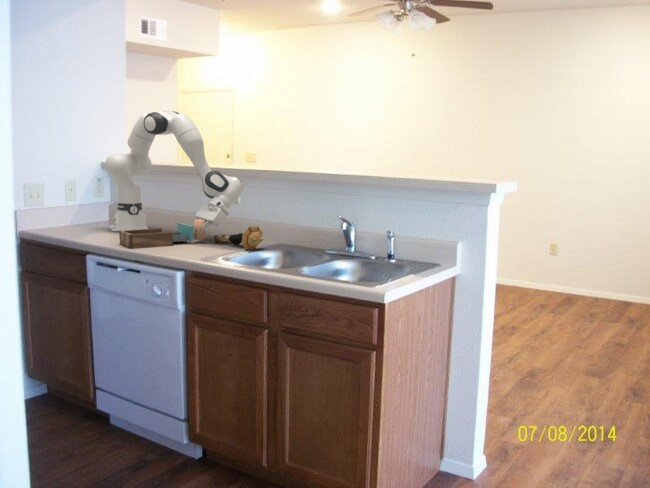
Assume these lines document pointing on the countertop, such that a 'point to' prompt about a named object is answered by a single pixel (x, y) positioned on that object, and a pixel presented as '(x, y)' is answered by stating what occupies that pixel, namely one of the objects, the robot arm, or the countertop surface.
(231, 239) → the toy
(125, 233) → the brown wooden box
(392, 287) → the countertop surface
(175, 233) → the teal tilted board
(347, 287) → the countertop surface
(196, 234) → the cylinder
